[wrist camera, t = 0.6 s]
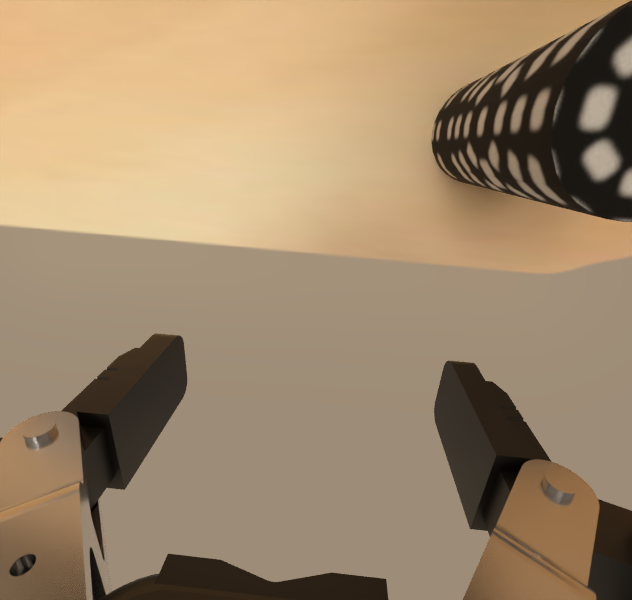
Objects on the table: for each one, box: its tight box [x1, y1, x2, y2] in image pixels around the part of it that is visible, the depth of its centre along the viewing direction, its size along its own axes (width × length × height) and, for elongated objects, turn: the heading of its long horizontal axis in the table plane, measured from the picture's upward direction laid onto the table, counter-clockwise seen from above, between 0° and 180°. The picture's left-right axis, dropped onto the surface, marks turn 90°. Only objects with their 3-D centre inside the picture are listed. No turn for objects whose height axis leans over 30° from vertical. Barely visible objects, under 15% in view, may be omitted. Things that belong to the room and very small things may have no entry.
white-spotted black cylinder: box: [432, 1, 632, 222], centre depth 23 cm, size 8×8×20 cm
